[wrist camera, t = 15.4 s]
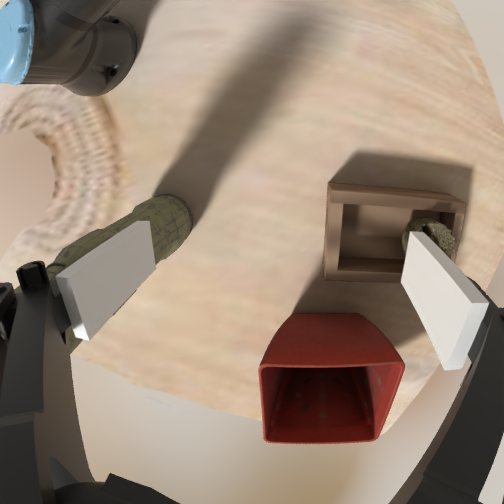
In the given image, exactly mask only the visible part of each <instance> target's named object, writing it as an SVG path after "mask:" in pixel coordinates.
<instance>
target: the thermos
mask: <svg viewBox="0 0 504 504" xmlns="http://www.w3.org/2000/svg"><path fill="white" fill-rule="evenodd" d="M136 221H150V228H151V236H152V244H153V251H154V258H155V264H157V263H158V262H159V261H160V260H163V259H166V258H167V257H169V256H170V255H171V254H172V253H174V252H175V251H176V250H177V249H178V248H179V247H180V246H181V245H182V243H183V242H184V240H185V239H186V238H187V237H188V235H189V234H190V232H191V229H192V225H193V221H192V214H191V212H190V209H189V207H188V206H187V205H186V203H185V202H184V201H183V200H181V199H180V198H179V197H177V196H174V195H171V194H162V195H159V196H157V197H154V198H151V199H149V200H147V201H145V202H143V203H141V204H139V205H137V206H136V207H135V208H134V210H133V212H132V213H130V214H129V215H127V216H125V217H123V218H122V219H120V220H118V221H116V222H115V223H113V224H111V225H109V226H108V227H106V228H104V229H97V230H95V231H92V232H90V233H88V234H87V235H85V236H83V237H81V238H80V239H78V240H76V241H75V242H73V243H72V244H70V245H68V246H67V247H65V248H63V249H62V251H61V252H60V253H59V254H58V256H57V257H56V259H55V260H54V262H53V263H51V264H50V265H48V266H47V268H46V271H47V275H48V278H49V282H51V281H53V280H54V279H55V278H56V277H55V276H57V275H58V274H59V273H61V272H62V271H63V270H65V269H66V268H68V267H69V266H70V265H72V264H73V263H75V262H76V261H77V260H79V259H80V258H82V257H83V256H85V255H86V254H87V253H89V252H90V251H92V250H93V249H95V248H96V247H98V246H99V245H101V244H102V243H104V242H105V241H107V240H108V239H110V238H111V237H113V236H114V235H116V234H117V233H119V232H120V231H122V230H124V229H125V228H127V227H128V226H130V225H131V224H133V223H135V222H136ZM136 290H137V289H136ZM136 290H135V291H134V292H133V294H134V293H135V292H136ZM14 292H15V293H21V292H22V289H21V286H19V287H17V288H16V289H14ZM133 294H132V295H133ZM132 295H131V296H132ZM131 296H130V297H131ZM130 297H129V298H130ZM129 298H128V299H129ZM128 299H127V300H128ZM127 300H126V301H127ZM126 301H125V302H126ZM125 302H124V303H125ZM124 303H123V304H122V305H121V306H120V307H119V309H120V308H121V307H122V306H123V305H124ZM119 309H118V310H119ZM118 310H117V311H118ZM117 311H116V312H117ZM116 312H115V313H116ZM115 313H114V314H115ZM114 314H113V315H114ZM113 315H112V316H113ZM112 316H111V317H112ZM66 331H67V334H68V337H69V346H70V354H71V353H72V352H73V350H74V349H75V348H76V347H77V346H78V345H79V344H80V343H81V341H82V340H83V339H81V338H77V337H75V334H74V331H73V329H72V326H70V327H69V328H68V329H67V330H66ZM0 333H1V336H2V338H4V336H5V335H4V333H3V331H2V328H1V326H0Z"/></svg>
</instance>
